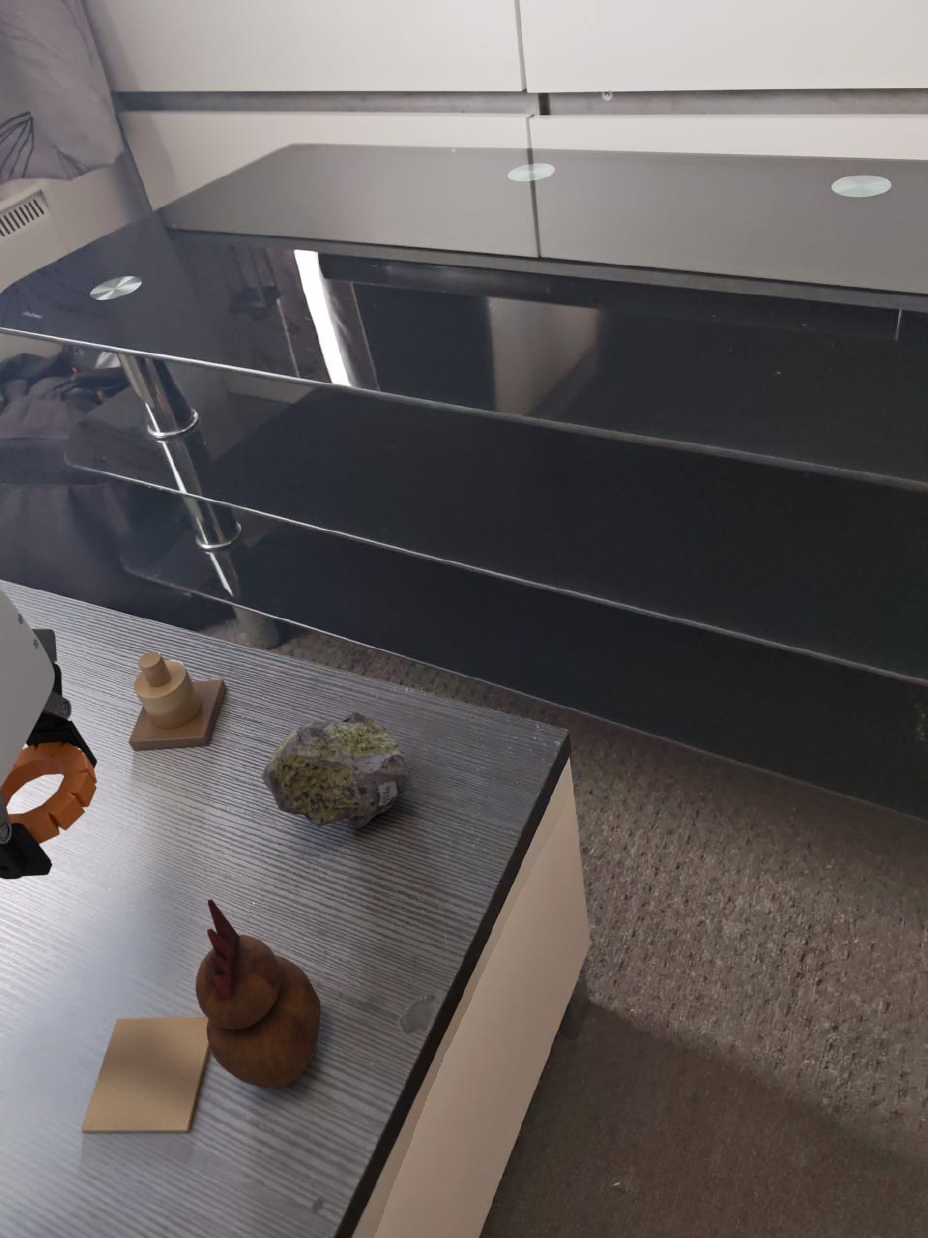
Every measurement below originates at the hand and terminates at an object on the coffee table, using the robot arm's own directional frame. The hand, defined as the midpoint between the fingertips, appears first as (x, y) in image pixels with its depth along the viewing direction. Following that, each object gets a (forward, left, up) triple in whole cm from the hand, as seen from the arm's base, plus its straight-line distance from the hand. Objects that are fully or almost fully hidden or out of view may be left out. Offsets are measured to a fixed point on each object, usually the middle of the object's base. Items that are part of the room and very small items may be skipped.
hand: (50, 816), depth 54 cm
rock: (+12, -13, -17) cm, 25 cm away
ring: (0, 0, +1) cm, 1 cm away
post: (+23, +5, -17) cm, 29 cm away
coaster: (-8, -2, -17) cm, 19 cm away
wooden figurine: (-7, -11, -17) cm, 21 cm away
